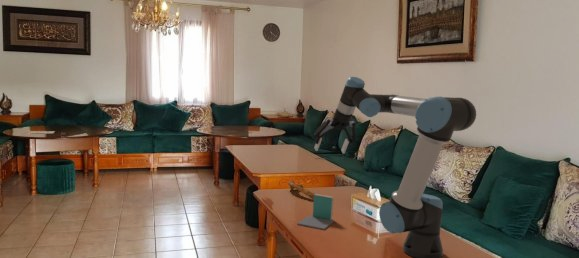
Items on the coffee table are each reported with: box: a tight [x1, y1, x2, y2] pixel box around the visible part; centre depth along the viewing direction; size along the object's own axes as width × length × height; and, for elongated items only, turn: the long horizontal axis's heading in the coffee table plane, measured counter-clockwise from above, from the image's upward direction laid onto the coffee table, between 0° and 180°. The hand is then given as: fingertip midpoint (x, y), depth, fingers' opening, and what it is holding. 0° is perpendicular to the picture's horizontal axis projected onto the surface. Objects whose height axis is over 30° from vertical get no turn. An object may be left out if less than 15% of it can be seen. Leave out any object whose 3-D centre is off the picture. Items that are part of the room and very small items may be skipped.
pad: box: [297, 215, 335, 231], centre depth 214 cm, size 13×13×1 cm
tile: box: [312, 193, 335, 220], centre depth 221 cm, size 9×2×11 cm, turn 66°
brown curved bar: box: [287, 180, 316, 201], centre depth 260 cm, size 33×8×10 cm, turn 25°
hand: (329, 150), depth 214 cm, fingers open, 13 cm apart
